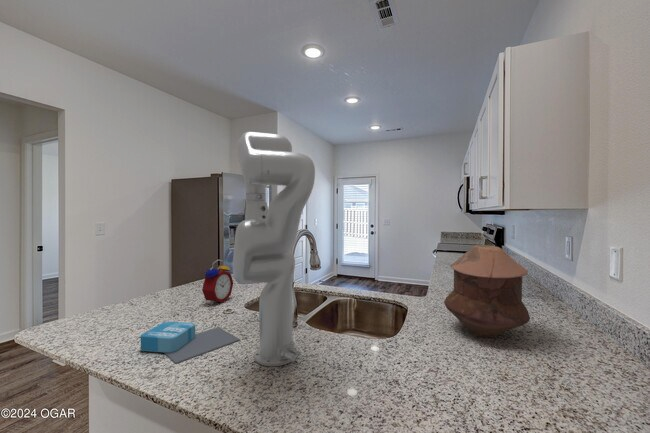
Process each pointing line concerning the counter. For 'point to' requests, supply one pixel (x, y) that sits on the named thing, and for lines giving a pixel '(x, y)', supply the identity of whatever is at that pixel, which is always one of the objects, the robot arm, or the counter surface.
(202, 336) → the rubber mat
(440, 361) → the counter surface
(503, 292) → the pottery vessel
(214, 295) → the alarm clock
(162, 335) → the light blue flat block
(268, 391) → the counter surface
